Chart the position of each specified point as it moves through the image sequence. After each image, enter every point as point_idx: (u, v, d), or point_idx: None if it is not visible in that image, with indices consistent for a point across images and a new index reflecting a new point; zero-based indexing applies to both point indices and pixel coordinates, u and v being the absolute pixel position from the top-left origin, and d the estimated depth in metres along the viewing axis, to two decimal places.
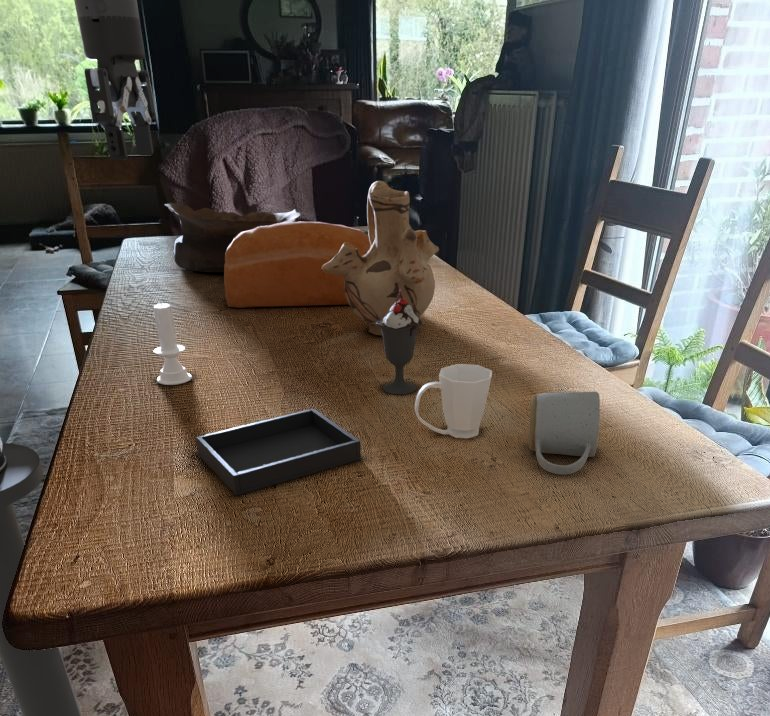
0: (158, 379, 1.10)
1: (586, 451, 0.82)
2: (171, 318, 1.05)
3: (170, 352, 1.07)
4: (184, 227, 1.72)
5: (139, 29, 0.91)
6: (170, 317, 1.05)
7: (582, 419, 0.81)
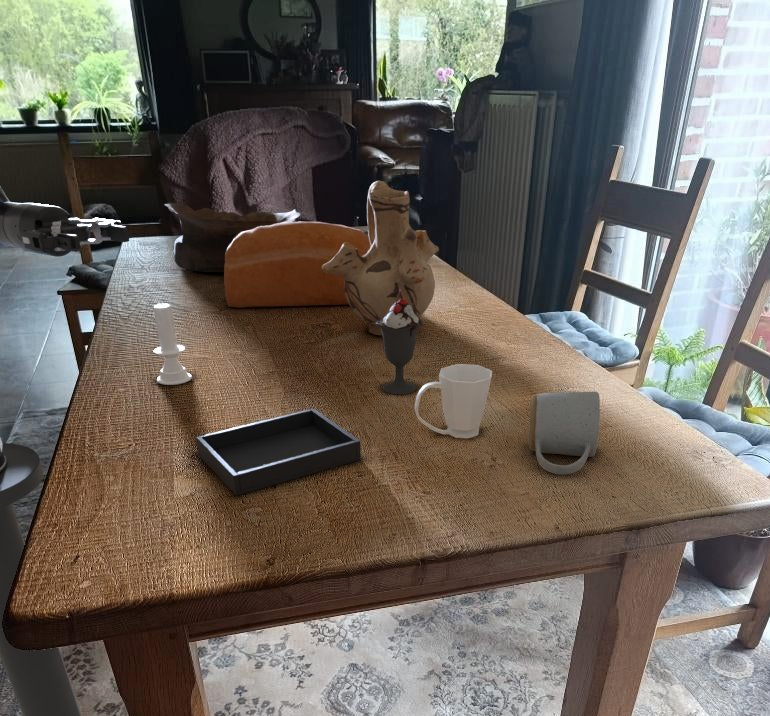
0: (158, 379, 1.10)
1: (586, 451, 0.82)
2: (171, 318, 1.05)
3: (170, 352, 1.07)
4: (184, 227, 1.72)
5: None
6: (170, 317, 1.05)
7: (582, 419, 0.81)
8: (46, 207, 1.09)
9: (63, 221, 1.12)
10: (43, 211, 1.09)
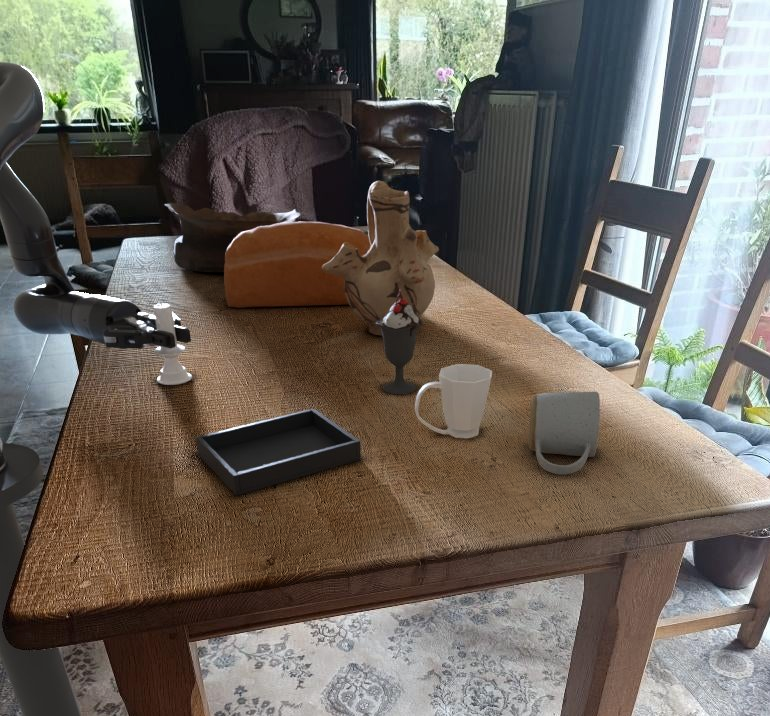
0: (158, 379, 1.10)
1: (586, 451, 0.82)
2: (171, 318, 1.05)
3: (170, 352, 1.07)
4: (184, 227, 1.72)
5: None
6: (170, 317, 1.05)
7: (582, 419, 0.81)
8: (116, 302, 1.10)
9: (132, 314, 1.12)
10: (114, 307, 1.09)
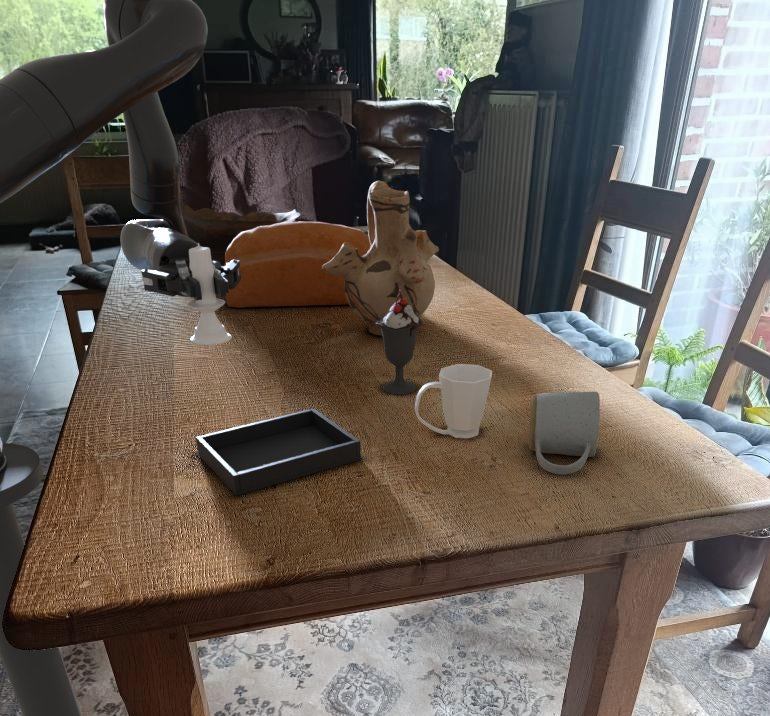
0: (193, 336, 0.93)
1: (586, 451, 0.82)
2: (206, 265, 0.87)
3: (200, 306, 0.89)
4: None
5: None
6: (205, 264, 0.87)
7: (582, 419, 0.81)
8: (177, 242, 0.95)
9: None
10: (172, 247, 0.95)
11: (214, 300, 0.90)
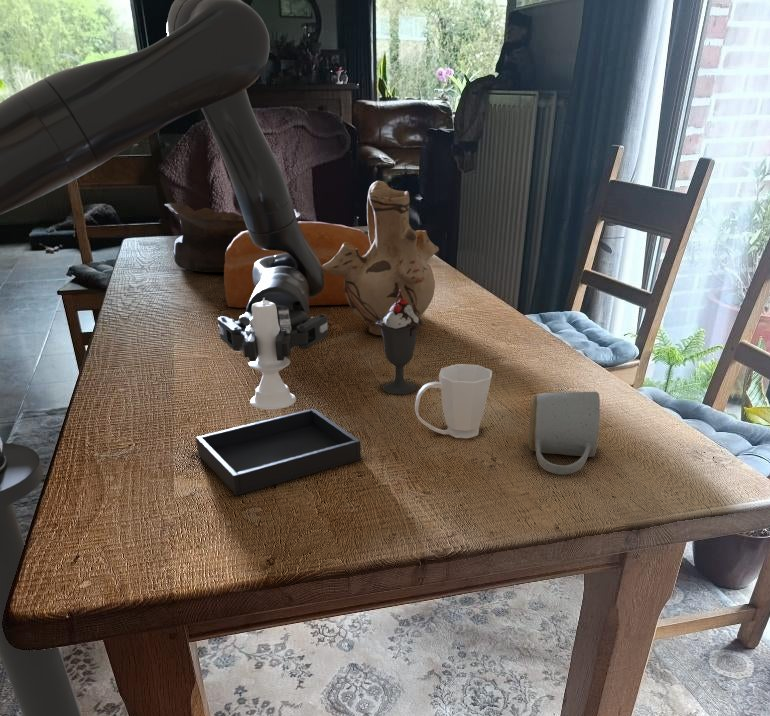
0: None
1: (586, 451, 0.82)
2: (266, 323, 0.77)
3: (257, 366, 0.79)
4: (184, 227, 1.72)
5: None
6: (265, 322, 0.77)
7: (582, 419, 0.81)
8: (268, 288, 0.86)
9: (285, 307, 0.87)
10: (261, 293, 0.86)
11: (275, 361, 0.80)
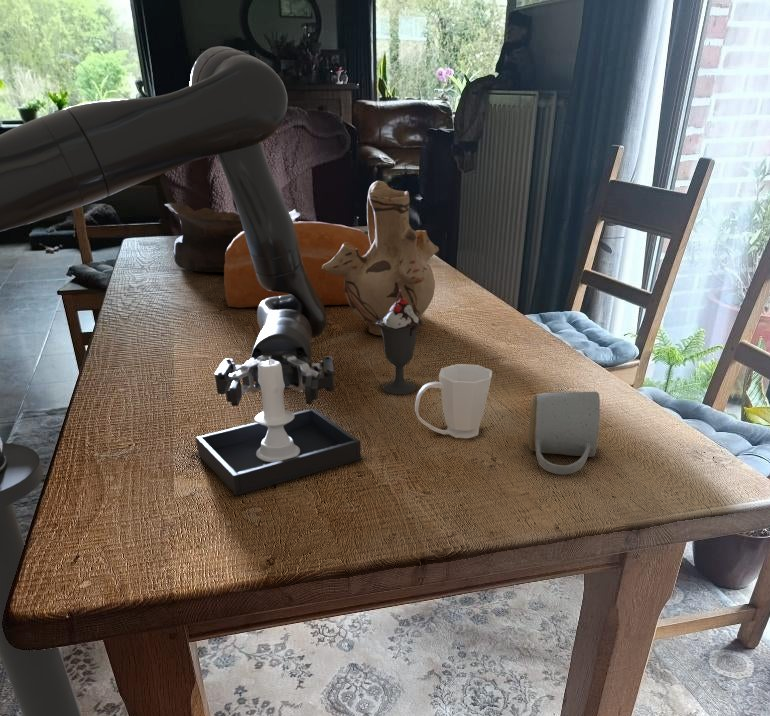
0: None
1: (586, 451, 0.82)
2: (272, 381, 0.81)
3: (263, 422, 0.83)
4: (184, 227, 1.72)
5: None
6: (271, 380, 0.81)
7: (582, 419, 0.81)
8: (272, 335, 0.89)
9: (289, 353, 0.90)
10: (266, 340, 0.89)
11: (280, 416, 0.83)
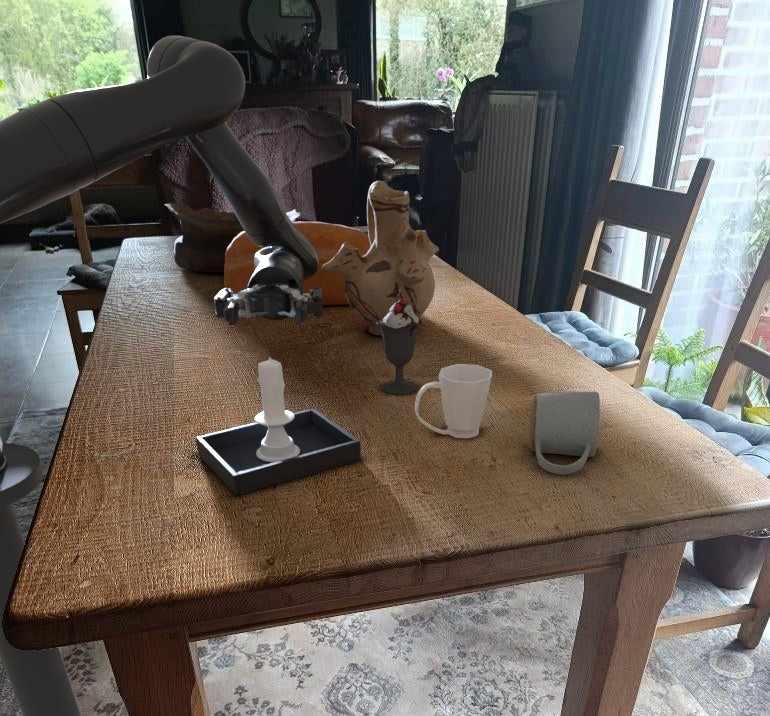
0: None
1: (586, 451, 0.82)
2: (272, 381, 0.81)
3: (263, 421, 0.83)
4: (184, 227, 1.72)
5: None
6: (271, 380, 0.81)
7: (582, 419, 0.81)
8: (267, 267, 0.98)
9: (282, 284, 0.99)
10: (261, 272, 0.98)
11: (280, 416, 0.83)
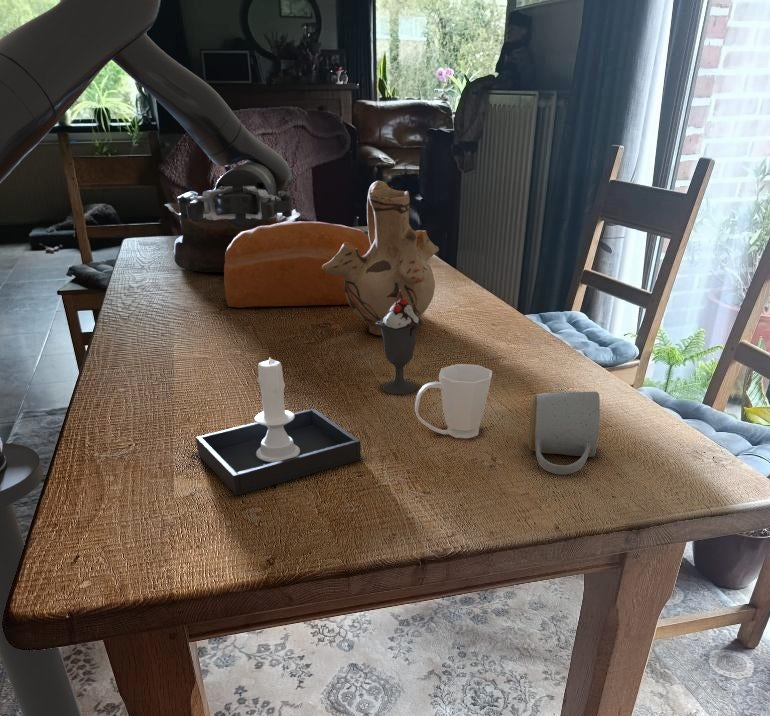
0: None
1: (586, 451, 0.82)
2: (272, 381, 0.81)
3: (263, 421, 0.83)
4: (184, 227, 1.72)
5: None
6: (271, 380, 0.81)
7: (582, 419, 0.81)
8: (234, 169, 0.94)
9: None
10: (228, 174, 0.94)
11: (280, 416, 0.83)
